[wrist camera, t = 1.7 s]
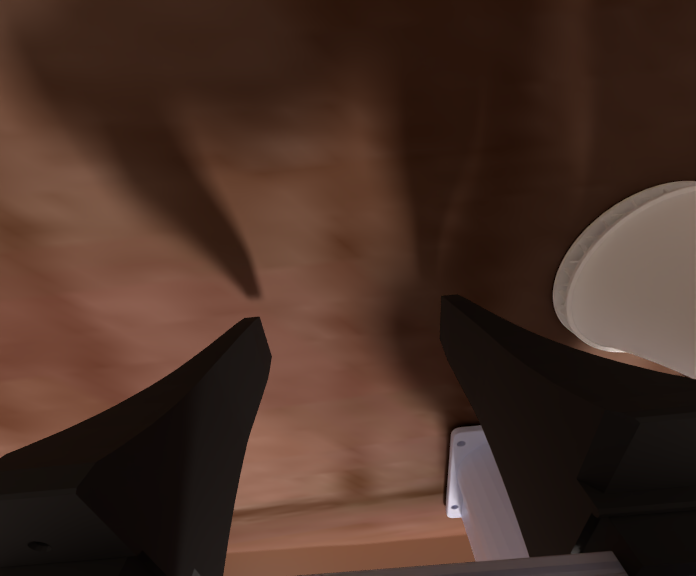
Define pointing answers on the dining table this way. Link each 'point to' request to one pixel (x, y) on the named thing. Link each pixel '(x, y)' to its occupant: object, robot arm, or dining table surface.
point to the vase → (636, 278)
